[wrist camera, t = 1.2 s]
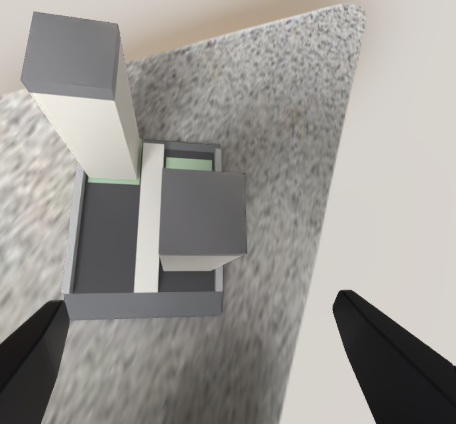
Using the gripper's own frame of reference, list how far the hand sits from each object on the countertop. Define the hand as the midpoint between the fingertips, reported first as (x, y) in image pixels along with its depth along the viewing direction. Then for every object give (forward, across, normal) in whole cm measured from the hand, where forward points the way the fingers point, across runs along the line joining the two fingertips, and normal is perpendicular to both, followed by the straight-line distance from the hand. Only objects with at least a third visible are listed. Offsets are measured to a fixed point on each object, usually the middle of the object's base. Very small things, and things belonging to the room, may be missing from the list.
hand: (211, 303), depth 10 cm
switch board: (+13, +3, +6) cm, 15 cm away
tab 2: (+11, 0, +7) cm, 13 cm away
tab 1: (+16, +6, +2) cm, 17 cm away
